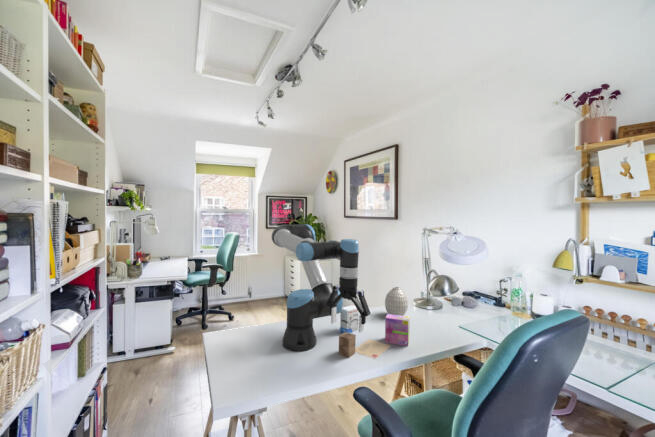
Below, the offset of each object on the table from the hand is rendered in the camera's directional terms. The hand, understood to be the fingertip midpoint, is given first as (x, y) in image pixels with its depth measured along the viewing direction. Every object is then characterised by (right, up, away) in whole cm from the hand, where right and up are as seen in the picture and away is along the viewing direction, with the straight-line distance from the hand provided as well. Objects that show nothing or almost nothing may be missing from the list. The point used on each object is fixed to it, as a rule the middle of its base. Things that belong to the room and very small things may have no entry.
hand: (346, 326), depth 126 cm
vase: (+31, -11, +46) cm, 56 cm away
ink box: (+3, -11, +24) cm, 27 cm away
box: (+24, -12, +12) cm, 29 cm away
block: (0, -12, 0) cm, 11 cm away
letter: (+11, -11, +5) cm, 17 cm away
